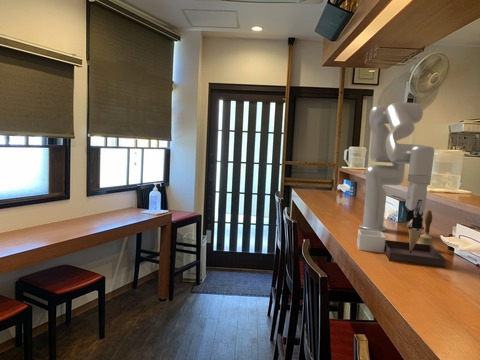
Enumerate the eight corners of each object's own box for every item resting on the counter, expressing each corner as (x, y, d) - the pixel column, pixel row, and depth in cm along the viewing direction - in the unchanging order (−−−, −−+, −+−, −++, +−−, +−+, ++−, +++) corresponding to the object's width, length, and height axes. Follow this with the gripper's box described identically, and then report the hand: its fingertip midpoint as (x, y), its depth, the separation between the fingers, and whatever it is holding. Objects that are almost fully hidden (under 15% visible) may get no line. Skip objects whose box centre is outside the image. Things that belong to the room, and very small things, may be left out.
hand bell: (440, 250, 139) (445, 211, 137) (428, 253, 135) (433, 213, 133) (421, 245, 146) (425, 207, 144) (409, 247, 142) (413, 209, 140)
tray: (381, 246, 140) (382, 239, 140) (430, 252, 136) (431, 245, 135) (389, 260, 123) (389, 252, 123) (445, 267, 118) (446, 259, 118)
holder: (356, 243, 143) (358, 229, 142) (380, 246, 141) (382, 231, 140) (358, 249, 134) (360, 234, 134) (383, 252, 132) (385, 237, 131)
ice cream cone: (409, 258, 127) (416, 220, 123) (398, 251, 132) (405, 214, 128) (421, 257, 128) (429, 219, 124) (410, 249, 134) (417, 213, 129)
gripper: (403, 176, 135) (398, 218, 138) (413, 181, 119) (407, 229, 121) (424, 177, 134) (418, 220, 136) (437, 183, 117) (430, 232, 119)
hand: (413, 224), depth 129 cm, fingers open, 9 cm apart
